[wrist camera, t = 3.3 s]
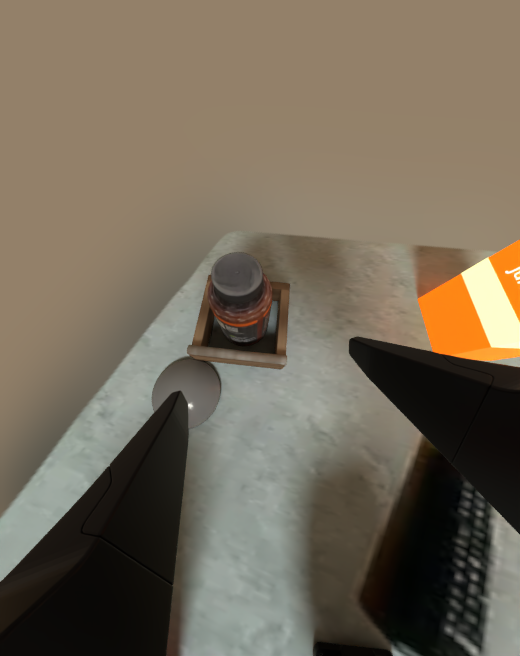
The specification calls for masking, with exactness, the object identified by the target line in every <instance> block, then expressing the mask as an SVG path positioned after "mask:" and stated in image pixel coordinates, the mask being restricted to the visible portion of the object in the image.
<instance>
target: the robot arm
mask: <svg viewBox="0 0 520 656" xmlns="http://www.w3.org/2000/svg"><path fill="white" fill-rule="evenodd" d="M349 354H350V356H351V357H352V358H353V359H354V361H355V362H356V363H357V364H358V366H359V367H360V368H361V370H362V371H363V372H364V373H365V374H366V376H367V377H368V378H369V379H370V380H371V381H372V382H373V383H374V384H375V385H376V386H377V387H378V388H379V389H380V390H381V392H382V393H383V394H384V395H385V396H386V397H387V398H388V399H389V400H390V401H391V402H392V403H393V404H394V405H395V406H396V407H397V408H398V409H399V410H400V411H401V412H402V413H403V414H404V415H405V416H406V417H407V418H408V419H409V420H410V421H411V422H412V423H413V425H414V426H415V427H416V428H417V429H418V430H419V431H420V432H421V433H422V434H423V435H424V436H425V437H426V438H427V439H428V440H429V441H430V442H431V443H432V444H433V445H434V446H435V447H436V448H437V449H438V450H439V451H440V452H441V453H442V454H443V455H444V457H445V458H446V459H447V460H448V461H449V462H450V463H452V465H453V466H454V467H455V468H456V469H457V470H458V471H459V472H460V473H461V474H462V475H463V476H464V477H465V478H466V479H467V480H468V481H469V482H470V483H471V485H472V486H473V487H474V488H475V489H476V490H477V491H478V492H479V493H480V494H481V495H482V496H483V497H484V498H485V499H486V500H487V501H488V502H489V503H490V504H491V505H492V506H493V507H494V508H495V509H496V510H497V511H498V512H499V513H500V514H501V515H502V517H503V518H504V519H505V520H506V521H507V522H508V523H509V524H510V525H511V526H512V527H513V528H514V529H515V530H516V531H517V532H518V533H519V534H520V367H514V366H508V365H502V364H496V363H490V362H484V361H478V360H472V359H466V358H461V357H456V356H451V355H446V354H439V353H436V352H431V351H426V350H421V349H416V348H412V347H407V346H402V345H397V344H392V343H387V342H382V341H377V340H372V339H367V338H363V337H354V338H351V339H350V340H349ZM188 435H189V429H188V403H187V400H186V399H185V397H184V395H183V393H182V391H180V390H179V391H175V392H172V393H171V394H170V395H169V396H168V397H167V399H166V400H165V401H164V402H163V403H162V404H161V406H160V407H159V408H158V409H157V410H156V411H155V413H154V414H153V415H152V416H151V417H150V418H149V420H148V421H147V422H146V423H145V424H144V425H143V426H142V428H141V429H140V430H139V431H138V432H137V433H136V435H135V436H134V437H133V438H132V439H131V440H130V442H129V443H128V444H127V445H126V446H125V447H124V449H123V450H122V451H121V452H120V453H119V454H118V456H117V457H116V458H115V459H114V460H113V461H112V463H111V464H110V466H108V467H107V468H106V469H105V471H104V472H103V473H102V474H101V475H100V476H99V478H98V479H97V480H96V481H95V482H94V483H93V484H92V486H91V487H90V488H89V489H88V490H87V491H86V492H85V493H84V495H83V496H82V497H81V498H80V499H79V500H78V501H77V502H76V503H75V504H74V505H73V506H72V508H71V509H70V510H69V511H68V512H67V513H66V514H65V515H64V516H63V517H62V518H61V519H60V520H59V521H58V522H57V523H56V525H55V526H54V527H53V528H52V529H51V530H50V531H49V532H48V533H47V534H46V535H45V536H44V537H43V538H42V539H41V540H40V541H39V542H38V544H37V545H36V546H35V547H34V548H33V549H32V550H31V551H30V552H29V553H28V554H27V555H26V556H25V557H24V558H23V559H22V560H21V561H20V563H19V564H18V565H17V566H16V567H15V568H14V569H13V570H12V571H11V572H10V573H9V574H8V575H7V576H6V577H5V578H4V579H3V580H2V581H1V582H0V656H166V650H167V640H168V631H169V621H170V612H171V602H172V593H173V586H172V585H173V582H174V572H175V563H176V553H177V544H178V534H179V525H180V515H181V506H182V496H183V487H184V477H185V467H186V458H187V448H188ZM320 653H322V654H323V655H322V656H393V655H392V653H391V652H390V651H388V650H383V649H375V648H366V647H358V646H349V645H340V644H332V643H323V642H318V643H317V644H316V645H315V647H314V656H319V654H320Z"/></svg>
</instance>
